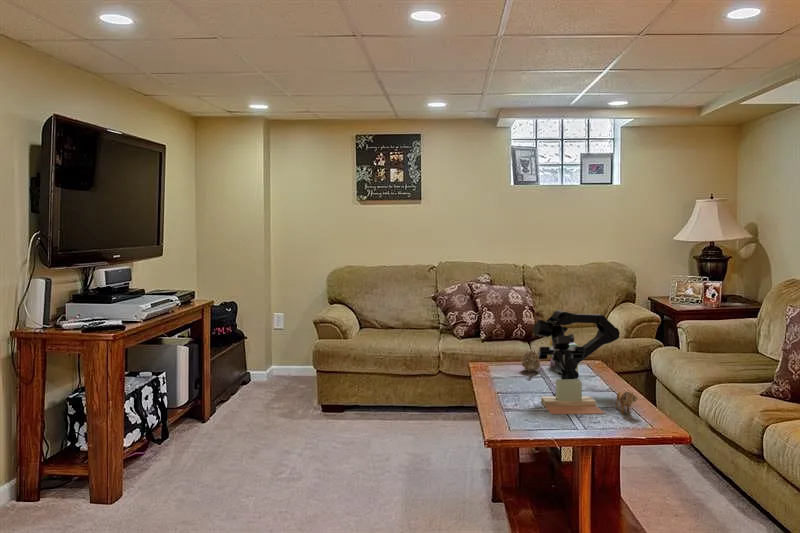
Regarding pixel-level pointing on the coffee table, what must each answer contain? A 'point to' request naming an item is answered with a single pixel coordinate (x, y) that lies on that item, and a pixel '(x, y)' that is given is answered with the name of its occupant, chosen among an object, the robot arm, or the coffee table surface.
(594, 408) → the rubber mat
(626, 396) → the lion figurine
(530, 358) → the pine cone
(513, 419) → the coffee table surface
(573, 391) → the green block
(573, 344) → the snack box
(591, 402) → the birch board
